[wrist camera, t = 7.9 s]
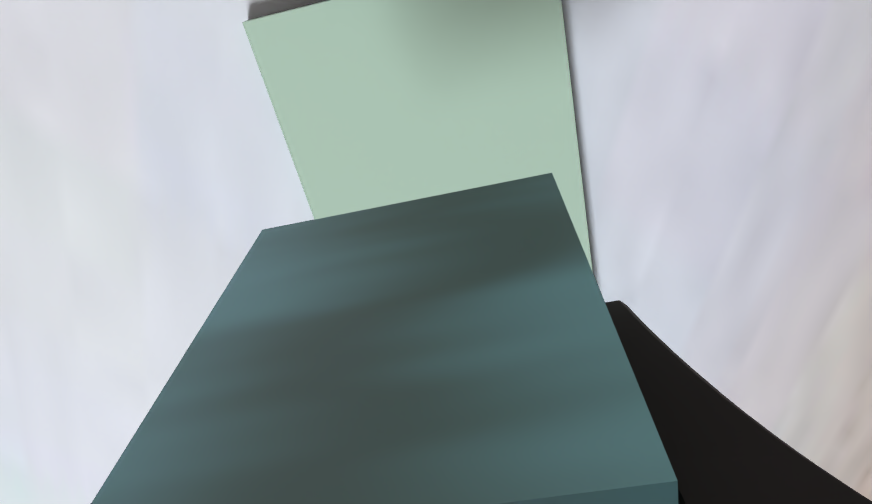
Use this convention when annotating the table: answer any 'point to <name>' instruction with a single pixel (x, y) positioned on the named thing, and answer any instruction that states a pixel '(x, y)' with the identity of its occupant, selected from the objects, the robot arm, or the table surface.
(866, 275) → the table surface
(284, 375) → the collar
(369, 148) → the end mat
